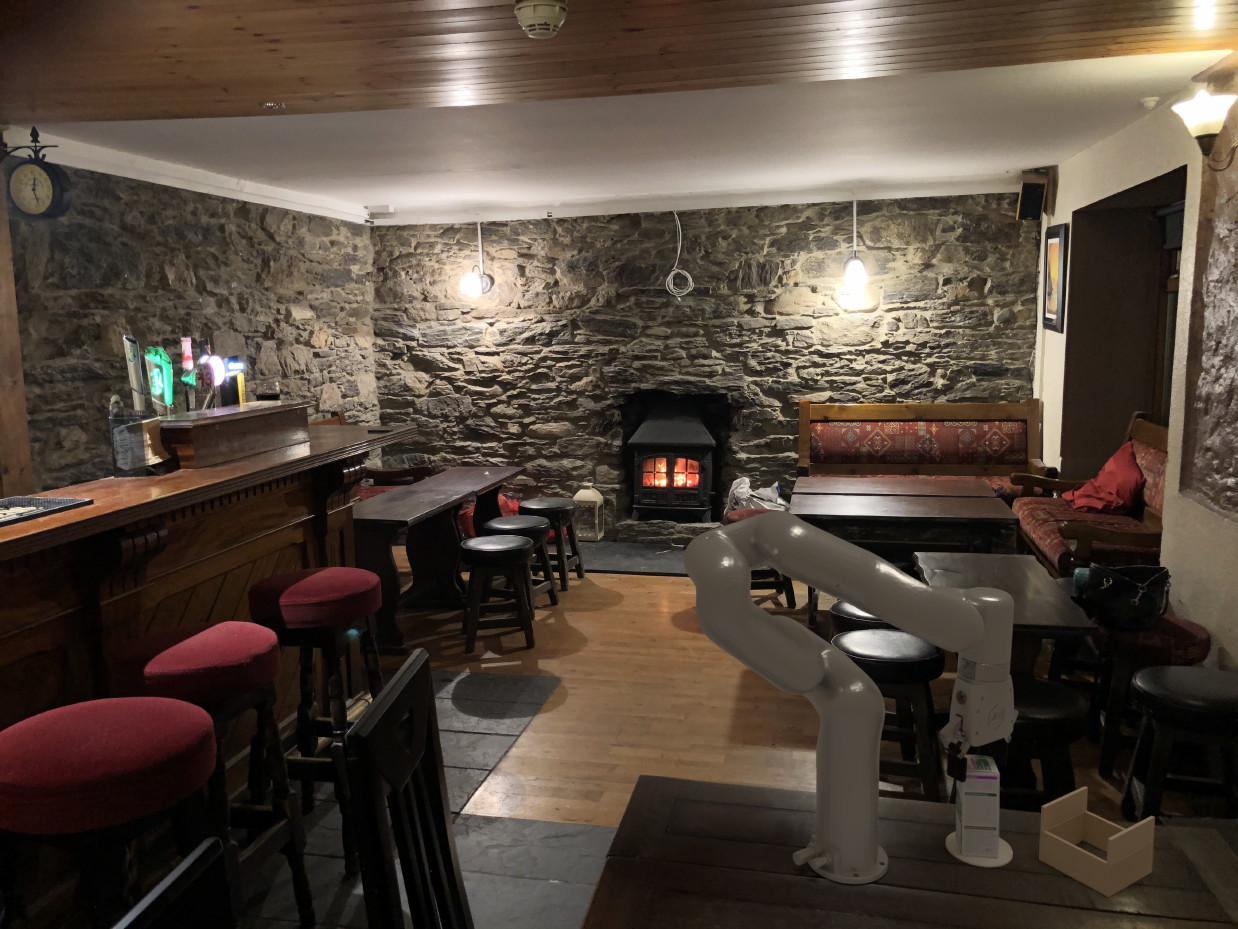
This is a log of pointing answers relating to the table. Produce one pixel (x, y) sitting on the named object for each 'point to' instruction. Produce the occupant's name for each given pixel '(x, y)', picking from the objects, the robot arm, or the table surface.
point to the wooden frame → (1094, 844)
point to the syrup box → (978, 808)
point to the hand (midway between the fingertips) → (976, 771)
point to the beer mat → (1003, 857)
